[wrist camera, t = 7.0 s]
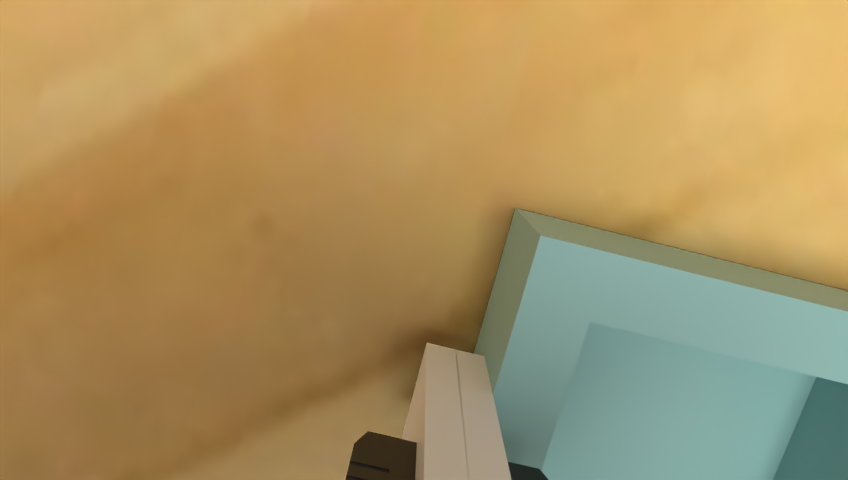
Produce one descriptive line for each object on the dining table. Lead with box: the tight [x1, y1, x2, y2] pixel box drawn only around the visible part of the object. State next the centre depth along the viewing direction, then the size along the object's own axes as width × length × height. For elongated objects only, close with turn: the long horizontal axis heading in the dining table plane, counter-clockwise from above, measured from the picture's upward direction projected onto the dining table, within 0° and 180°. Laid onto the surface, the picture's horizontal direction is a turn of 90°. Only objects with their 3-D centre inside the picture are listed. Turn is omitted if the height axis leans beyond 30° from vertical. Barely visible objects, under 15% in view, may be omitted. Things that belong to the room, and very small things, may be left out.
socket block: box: [474, 208, 848, 480], centre depth 15 cm, size 10×10×4 cm
